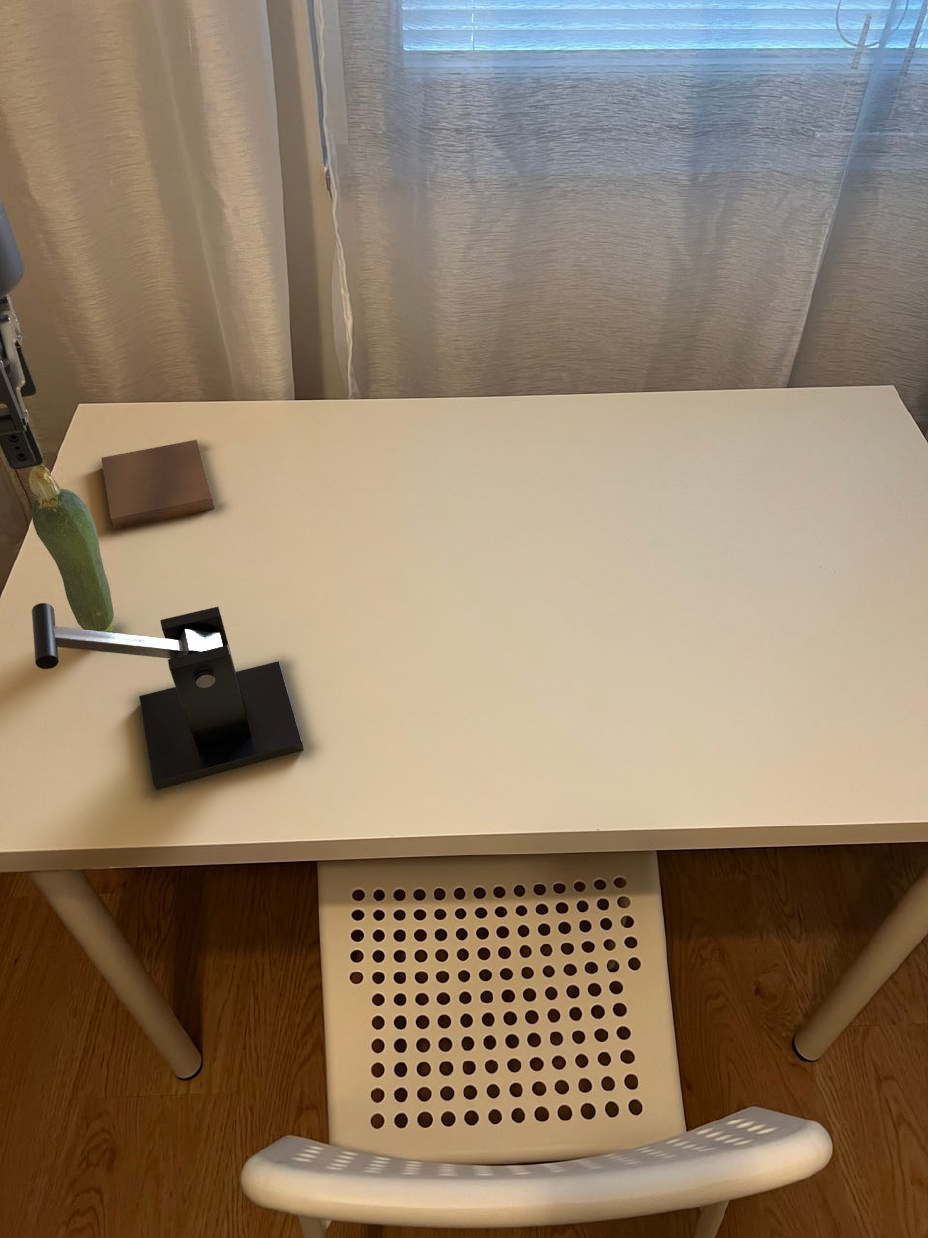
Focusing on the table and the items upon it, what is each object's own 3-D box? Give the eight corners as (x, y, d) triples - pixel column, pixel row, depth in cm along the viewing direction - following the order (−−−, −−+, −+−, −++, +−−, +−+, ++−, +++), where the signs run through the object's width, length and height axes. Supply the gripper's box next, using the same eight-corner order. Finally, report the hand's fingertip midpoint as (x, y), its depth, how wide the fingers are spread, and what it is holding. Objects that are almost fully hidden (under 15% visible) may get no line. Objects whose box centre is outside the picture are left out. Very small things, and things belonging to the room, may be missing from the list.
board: (114, 530, 94) (110, 519, 93) (104, 468, 100) (101, 457, 99) (215, 509, 96) (212, 498, 95) (199, 450, 102) (196, 439, 101)
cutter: (155, 791, 75) (118, 704, 66) (142, 703, 80) (105, 612, 71) (304, 750, 77) (287, 661, 68) (281, 669, 83) (262, 576, 74)
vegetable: (81, 616, 86) (6, 442, 71) (129, 606, 87) (65, 433, 72) (83, 652, 84) (6, 479, 69) (133, 641, 85) (67, 469, 69)
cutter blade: (31, 673, 63) (40, 649, 62) (27, 620, 67) (36, 596, 65) (217, 688, 71) (228, 667, 70) (206, 640, 74) (216, 619, 73)
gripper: (-127, 166, 60) (-31, 382, 72) (-141, 278, 51) (-29, 502, 63) (-2, 152, 61) (71, 365, 74) (5, 257, 53) (87, 479, 65)
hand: (25, 428), depth 68 cm, fingers open, 8 cm apart
